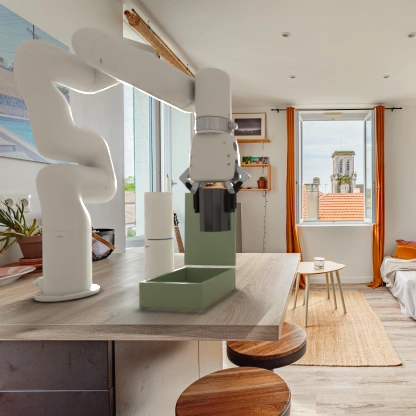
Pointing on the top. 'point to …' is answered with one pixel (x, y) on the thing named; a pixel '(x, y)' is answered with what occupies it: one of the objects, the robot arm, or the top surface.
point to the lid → (207, 241)
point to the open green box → (187, 288)
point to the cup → (213, 210)
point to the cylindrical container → (159, 233)
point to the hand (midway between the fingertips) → (215, 212)
